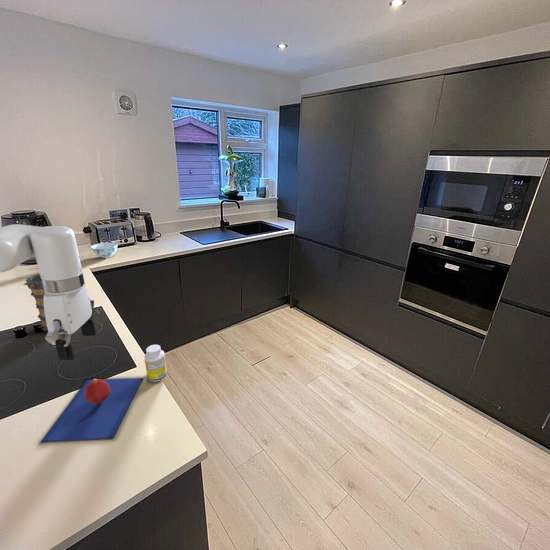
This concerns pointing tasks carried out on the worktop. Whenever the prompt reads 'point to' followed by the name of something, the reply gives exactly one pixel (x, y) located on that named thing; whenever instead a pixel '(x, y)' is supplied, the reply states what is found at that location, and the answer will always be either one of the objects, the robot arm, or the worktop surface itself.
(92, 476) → the worktop surface
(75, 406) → the cloth
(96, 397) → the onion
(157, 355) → the supplement bottle
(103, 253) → the chinaware
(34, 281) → the mug
